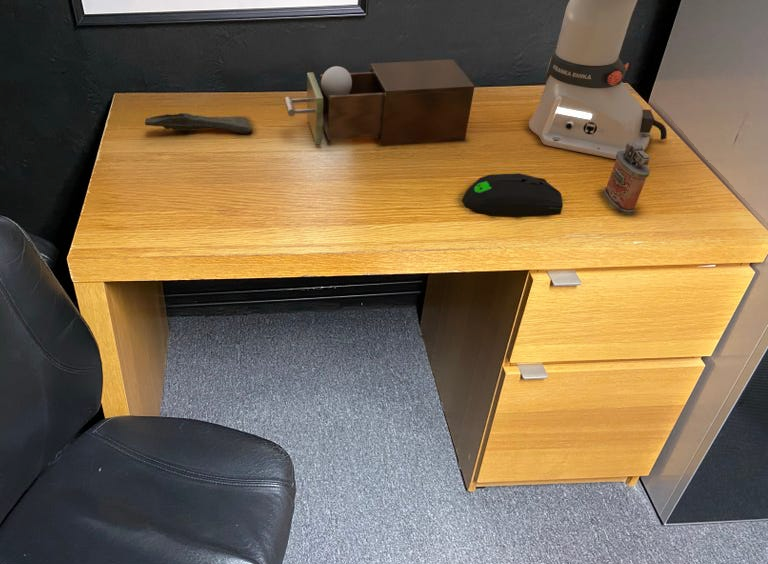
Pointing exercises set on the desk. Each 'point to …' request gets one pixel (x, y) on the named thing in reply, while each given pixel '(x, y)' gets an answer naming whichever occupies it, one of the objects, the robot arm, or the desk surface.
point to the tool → (200, 122)
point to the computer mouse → (513, 196)
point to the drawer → (343, 109)
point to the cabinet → (423, 101)
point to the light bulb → (336, 81)
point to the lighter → (627, 179)
